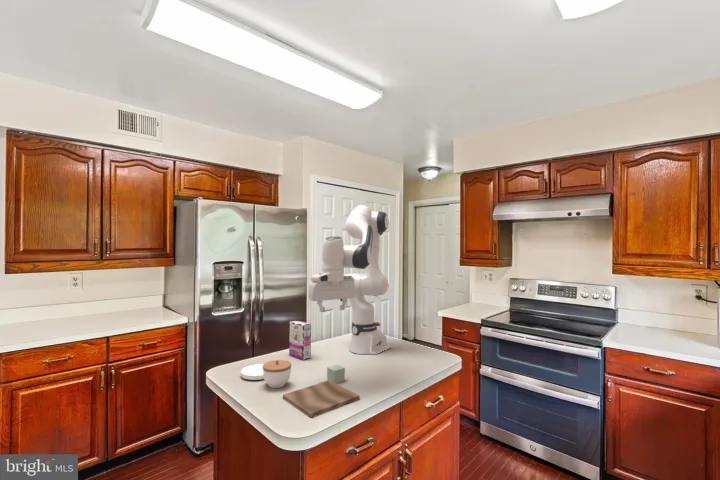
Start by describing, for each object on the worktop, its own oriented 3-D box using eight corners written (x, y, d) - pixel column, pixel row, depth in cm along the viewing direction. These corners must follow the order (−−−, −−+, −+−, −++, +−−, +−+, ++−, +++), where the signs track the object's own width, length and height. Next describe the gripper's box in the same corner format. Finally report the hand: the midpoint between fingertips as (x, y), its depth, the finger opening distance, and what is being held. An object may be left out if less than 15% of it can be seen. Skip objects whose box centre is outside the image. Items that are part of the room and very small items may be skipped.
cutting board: (329, 383, 135) (329, 380, 135) (359, 399, 122) (359, 395, 122) (282, 398, 122) (282, 394, 122) (310, 417, 108) (310, 413, 108)
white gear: (257, 385, 134) (257, 378, 134) (233, 377, 142) (233, 371, 142) (283, 373, 146) (283, 367, 146) (260, 367, 153) (260, 361, 153)
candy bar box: (311, 358, 165) (311, 323, 165) (303, 360, 161) (303, 325, 161) (297, 353, 173) (297, 319, 173) (288, 355, 169) (288, 321, 169)
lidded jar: (288, 377, 141) (288, 354, 141) (293, 388, 131) (293, 363, 131) (261, 381, 137) (261, 357, 137) (263, 392, 127) (263, 366, 127)
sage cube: (337, 376, 142) (337, 364, 142) (344, 380, 138) (344, 367, 138) (327, 380, 139) (327, 367, 139) (334, 383, 135) (334, 370, 135)
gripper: (350, 275, 149) (349, 307, 149) (306, 276, 138) (306, 311, 137) (358, 276, 144) (358, 309, 144) (314, 277, 133) (313, 314, 132)
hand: (332, 310), depth 140 cm, fingers open, 8 cm apart
